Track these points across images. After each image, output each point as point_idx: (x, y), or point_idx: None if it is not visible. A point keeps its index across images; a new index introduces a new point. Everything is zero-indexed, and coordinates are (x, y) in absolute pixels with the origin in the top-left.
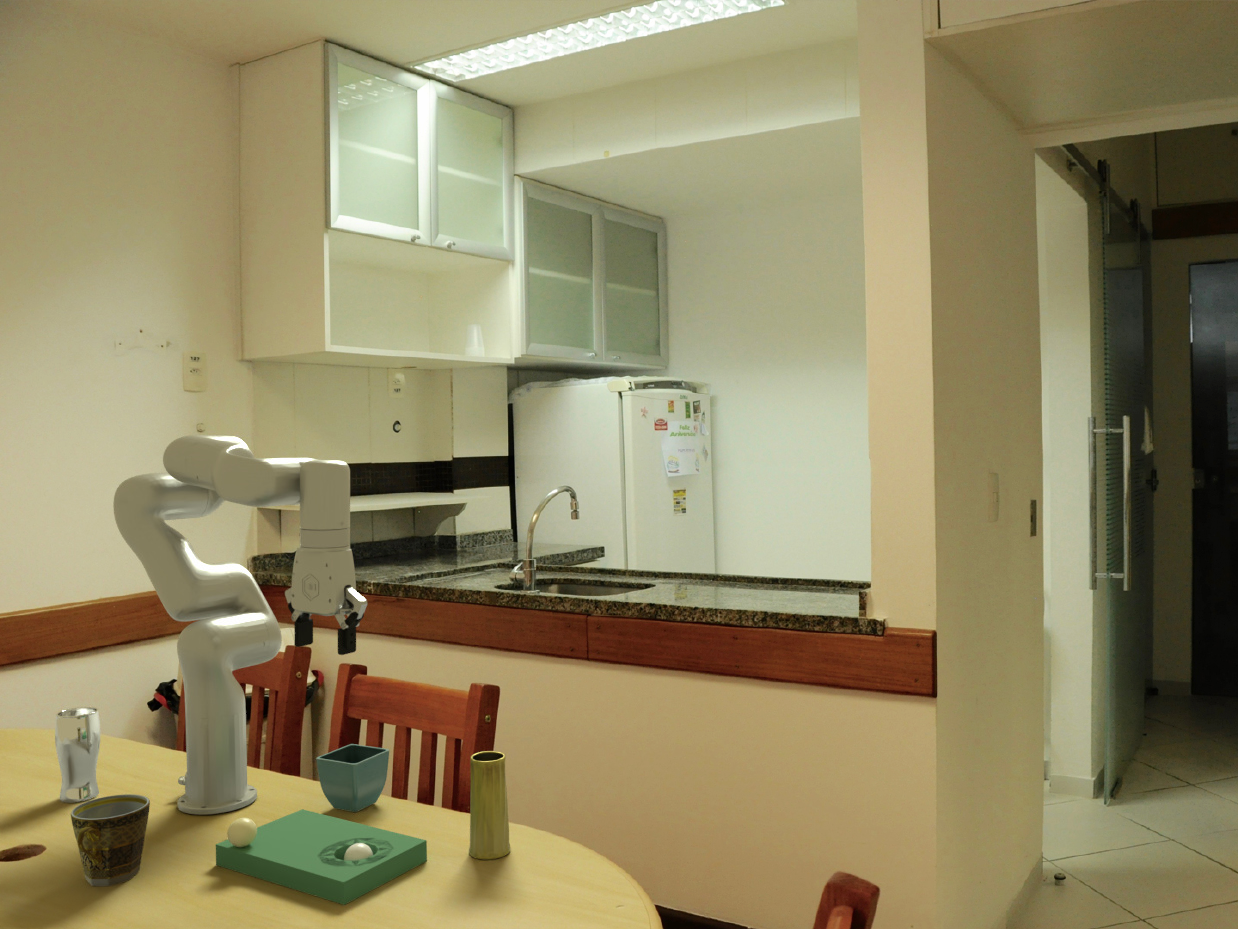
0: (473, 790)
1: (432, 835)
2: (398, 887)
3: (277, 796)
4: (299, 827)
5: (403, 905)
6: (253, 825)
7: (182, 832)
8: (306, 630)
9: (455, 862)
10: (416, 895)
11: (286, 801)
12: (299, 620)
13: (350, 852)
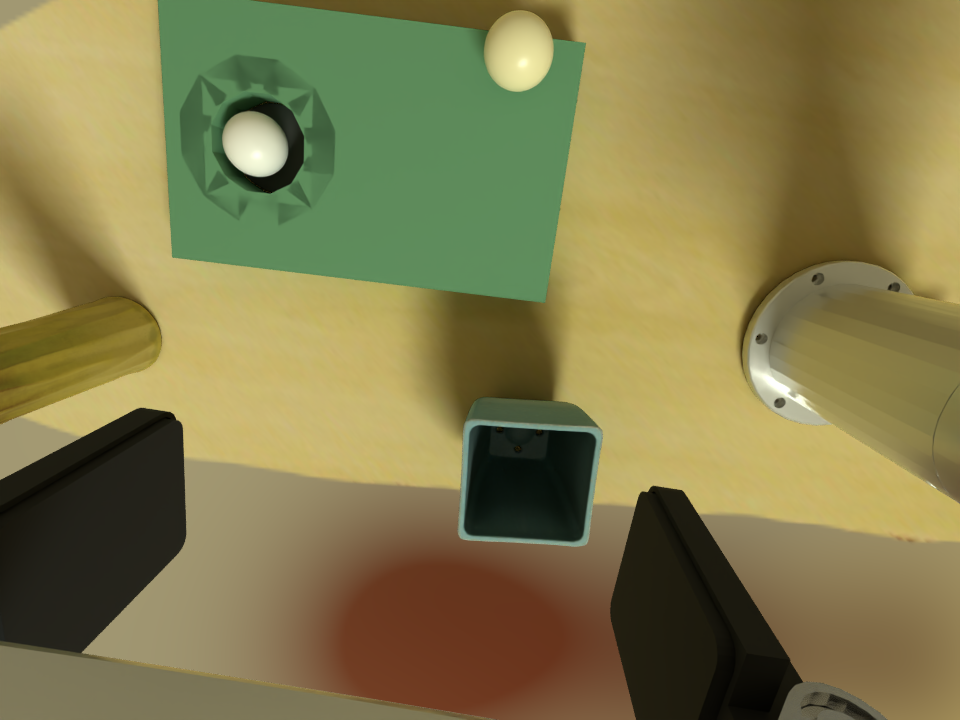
0: (17, 334)
1: (274, 362)
2: (156, 127)
3: (716, 418)
4: (472, 209)
5: (88, 60)
6: (489, 57)
7: (784, 175)
8: (654, 654)
9: (146, 270)
10: (100, 110)
11: (677, 402)
12: (755, 718)
13: (245, 116)
